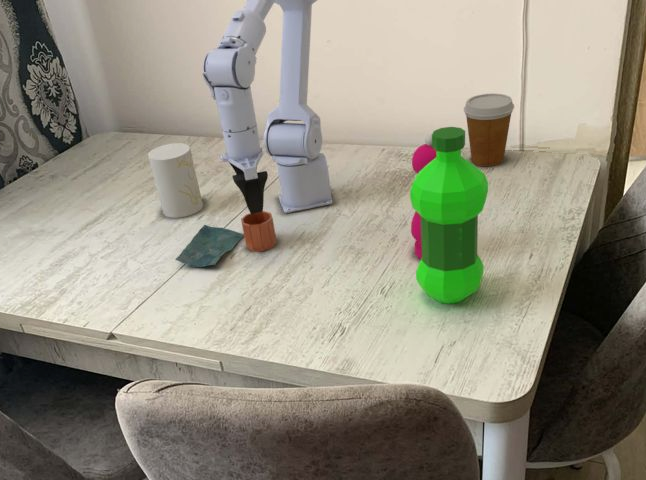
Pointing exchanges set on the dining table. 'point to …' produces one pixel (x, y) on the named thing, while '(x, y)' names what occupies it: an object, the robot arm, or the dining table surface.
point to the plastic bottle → (449, 219)
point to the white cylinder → (176, 180)
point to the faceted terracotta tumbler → (259, 231)
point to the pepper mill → (418, 163)
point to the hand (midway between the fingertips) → (253, 202)
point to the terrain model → (208, 246)
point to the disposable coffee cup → (488, 127)
